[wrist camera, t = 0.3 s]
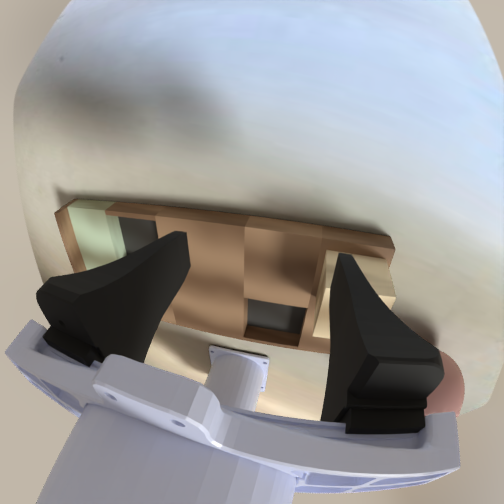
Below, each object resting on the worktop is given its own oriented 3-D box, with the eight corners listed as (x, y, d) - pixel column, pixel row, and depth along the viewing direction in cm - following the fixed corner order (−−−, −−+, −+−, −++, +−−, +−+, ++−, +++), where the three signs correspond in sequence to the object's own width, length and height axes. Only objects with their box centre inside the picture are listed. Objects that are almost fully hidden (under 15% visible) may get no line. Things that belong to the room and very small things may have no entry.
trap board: (350, 342, 29) (350, 367, 26) (103, 291, 35) (89, 307, 32) (390, 236, 21) (399, 260, 18) (74, 198, 27) (54, 212, 24)
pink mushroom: (349, 373, 33) (345, 452, 23) (401, 316, 26) (415, 414, 16) (416, 386, 32) (421, 454, 23) (469, 336, 25) (490, 415, 16)
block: (369, 304, 23) (373, 343, 19) (315, 297, 24) (312, 336, 20) (386, 259, 20) (396, 297, 17) (326, 249, 21) (325, 287, 17)
